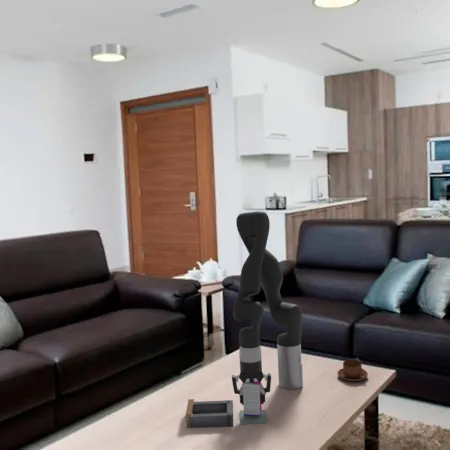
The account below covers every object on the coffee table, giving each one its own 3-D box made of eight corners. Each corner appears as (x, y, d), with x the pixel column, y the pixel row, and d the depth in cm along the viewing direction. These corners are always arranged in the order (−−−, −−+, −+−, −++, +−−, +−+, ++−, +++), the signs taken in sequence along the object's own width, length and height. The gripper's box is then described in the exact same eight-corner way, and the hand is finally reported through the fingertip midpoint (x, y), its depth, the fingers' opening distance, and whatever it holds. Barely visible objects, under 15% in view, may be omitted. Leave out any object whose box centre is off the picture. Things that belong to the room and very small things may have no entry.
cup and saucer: (371, 374, 216) (371, 360, 216) (362, 385, 206) (362, 370, 206) (343, 370, 223) (343, 356, 222) (333, 380, 213) (332, 365, 212)
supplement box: (260, 416, 181) (258, 384, 180) (243, 415, 182) (241, 384, 181) (262, 409, 186) (261, 378, 185) (246, 408, 188) (244, 377, 186)
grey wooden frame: (233, 410, 190) (232, 397, 190) (233, 426, 179) (232, 412, 178) (189, 412, 191) (188, 399, 190) (186, 428, 179) (185, 414, 178)
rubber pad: (265, 411, 189) (265, 409, 189) (266, 423, 180) (266, 421, 180) (240, 412, 189) (240, 410, 189) (240, 424, 180) (240, 422, 180)
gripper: (270, 352, 186) (272, 398, 187) (229, 354, 186) (232, 399, 188) (272, 360, 178) (274, 407, 180) (229, 362, 178) (232, 409, 180)
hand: (252, 403), depth 184 cm, fingers closed on supplement box, 6 cm apart
